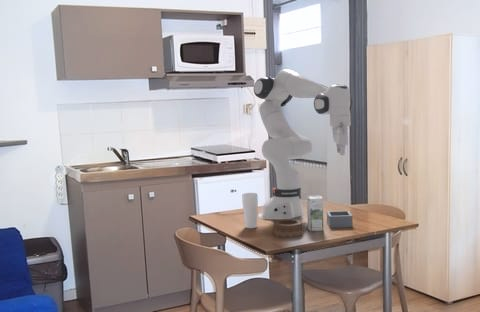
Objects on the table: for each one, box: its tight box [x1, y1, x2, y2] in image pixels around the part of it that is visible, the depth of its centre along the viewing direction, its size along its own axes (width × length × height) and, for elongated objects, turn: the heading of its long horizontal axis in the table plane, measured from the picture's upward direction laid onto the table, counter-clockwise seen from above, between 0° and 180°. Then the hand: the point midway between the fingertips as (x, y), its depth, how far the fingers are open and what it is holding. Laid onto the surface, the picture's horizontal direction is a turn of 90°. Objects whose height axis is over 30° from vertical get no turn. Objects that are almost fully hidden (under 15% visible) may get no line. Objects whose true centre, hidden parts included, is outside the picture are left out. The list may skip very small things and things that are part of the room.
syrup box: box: [306, 195, 324, 233], centre depth 215 cm, size 6×6×14 cm
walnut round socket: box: [273, 218, 304, 239], centre depth 211 cm, size 12×12×5 cm
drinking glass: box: [241, 192, 259, 229], centre depth 225 cm, size 7×7×15 cm
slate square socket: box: [326, 210, 354, 229], centre depth 223 cm, size 10×10×5 cm
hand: (340, 153), depth 221 cm, fingers open, 8 cm apart
